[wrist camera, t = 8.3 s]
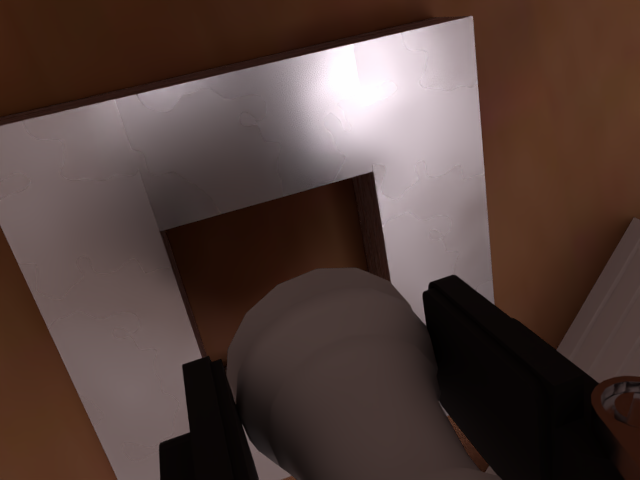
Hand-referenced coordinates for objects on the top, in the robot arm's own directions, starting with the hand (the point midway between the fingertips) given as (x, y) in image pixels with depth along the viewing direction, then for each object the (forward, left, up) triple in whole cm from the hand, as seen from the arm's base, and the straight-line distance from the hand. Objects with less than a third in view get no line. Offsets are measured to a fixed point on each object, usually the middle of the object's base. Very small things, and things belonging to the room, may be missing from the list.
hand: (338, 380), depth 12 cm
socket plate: (0, 0, -6) cm, 6 cm away
